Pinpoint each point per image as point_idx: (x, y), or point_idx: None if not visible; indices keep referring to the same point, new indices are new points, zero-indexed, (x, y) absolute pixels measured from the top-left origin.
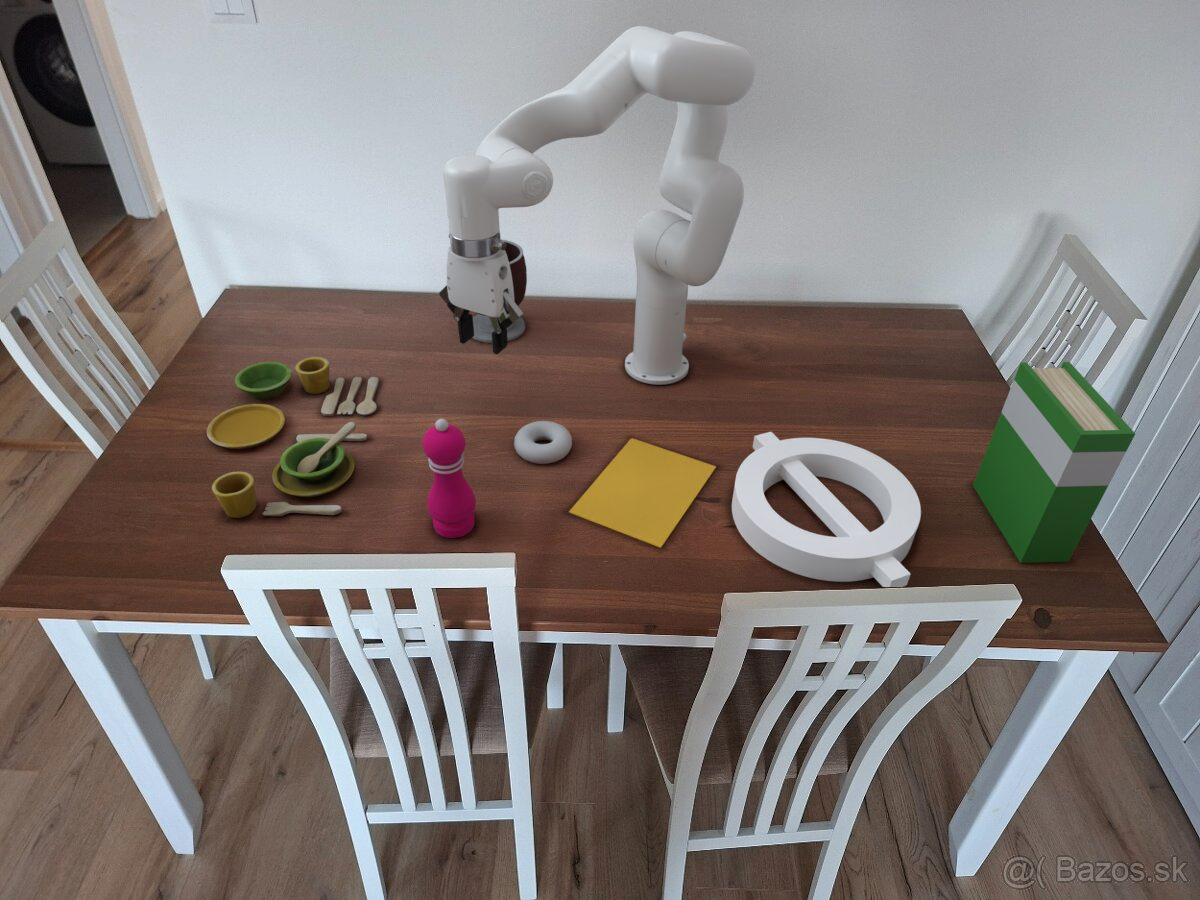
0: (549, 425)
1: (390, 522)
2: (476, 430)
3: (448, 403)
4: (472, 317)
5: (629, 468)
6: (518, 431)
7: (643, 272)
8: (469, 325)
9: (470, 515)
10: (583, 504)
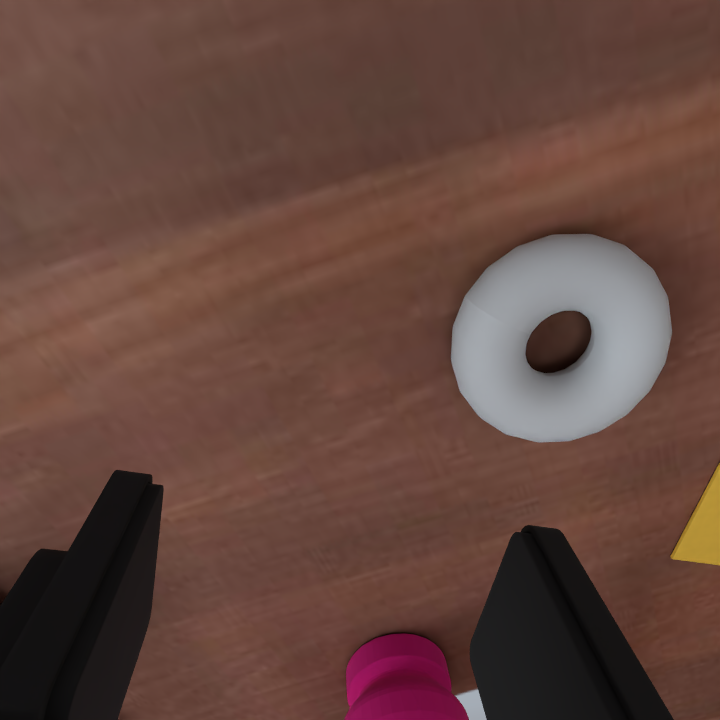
0: (588, 293)
1: (243, 705)
2: (272, 311)
3: (61, 171)
4: (77, 691)
5: None
6: (467, 349)
7: None
8: (105, 665)
9: (443, 686)
10: (709, 524)
